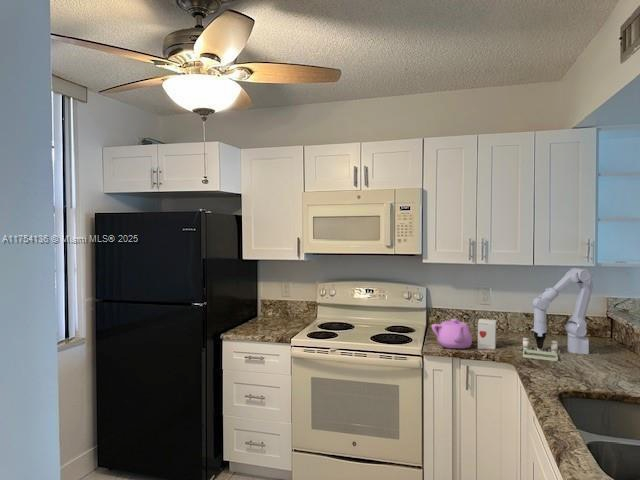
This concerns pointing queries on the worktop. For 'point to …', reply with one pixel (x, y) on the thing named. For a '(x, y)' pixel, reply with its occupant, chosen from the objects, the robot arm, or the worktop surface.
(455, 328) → the teapot
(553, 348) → the cylinder
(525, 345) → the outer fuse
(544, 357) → the tray
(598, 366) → the worktop surface
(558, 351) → the fuse holder
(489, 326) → the supplement box
